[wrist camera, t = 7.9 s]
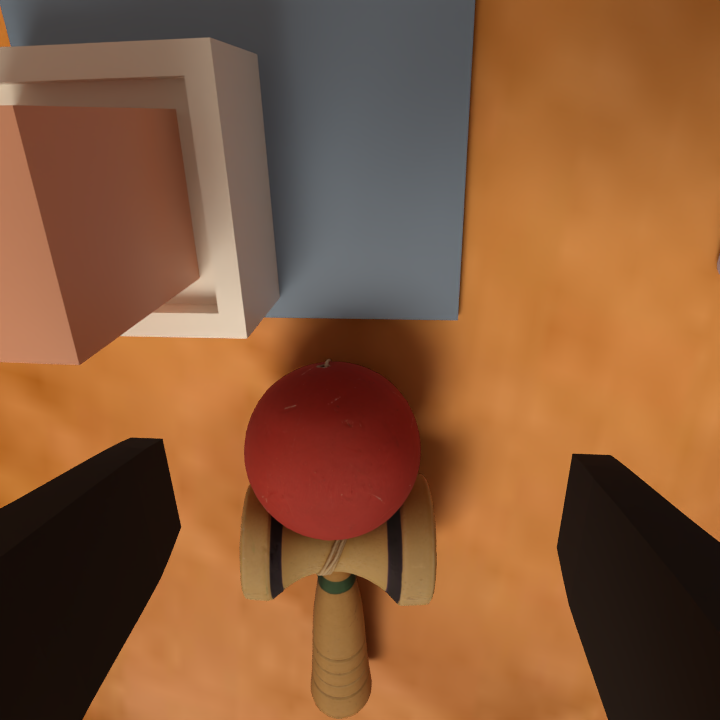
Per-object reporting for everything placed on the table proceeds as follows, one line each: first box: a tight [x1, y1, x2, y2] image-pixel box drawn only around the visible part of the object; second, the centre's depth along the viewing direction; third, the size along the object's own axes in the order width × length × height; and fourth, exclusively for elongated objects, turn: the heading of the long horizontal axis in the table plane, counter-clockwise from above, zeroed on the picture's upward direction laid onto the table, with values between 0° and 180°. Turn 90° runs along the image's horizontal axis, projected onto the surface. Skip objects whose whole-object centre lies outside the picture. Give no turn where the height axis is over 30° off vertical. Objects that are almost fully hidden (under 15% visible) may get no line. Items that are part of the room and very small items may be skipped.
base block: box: [0, 37, 280, 338], centre depth 16 cm, size 8×8×4 cm
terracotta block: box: [0, 105, 200, 365], centre depth 12 cm, size 4×4×6 cm
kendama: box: [240, 359, 437, 719], centre depth 21 cm, size 8×6×18 cm
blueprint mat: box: [0, 0, 475, 320], centre depth 16 cm, size 14×17×1 cm
